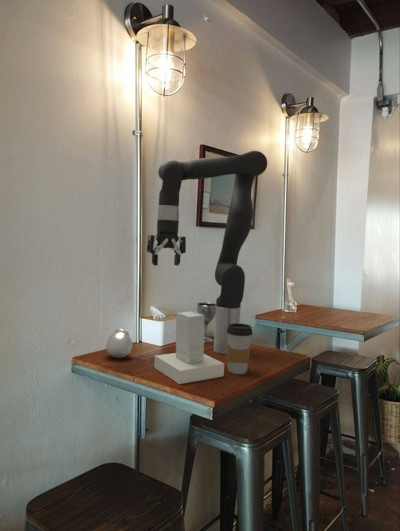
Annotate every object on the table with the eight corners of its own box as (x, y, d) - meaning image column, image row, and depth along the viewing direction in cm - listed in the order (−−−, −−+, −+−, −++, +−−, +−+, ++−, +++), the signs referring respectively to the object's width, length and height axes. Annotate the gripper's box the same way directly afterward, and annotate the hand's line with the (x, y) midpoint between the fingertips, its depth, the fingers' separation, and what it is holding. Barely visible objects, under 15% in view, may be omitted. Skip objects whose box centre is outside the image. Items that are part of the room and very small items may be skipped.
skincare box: (203, 362, 132) (206, 315, 131) (187, 364, 129) (189, 316, 128) (189, 354, 139) (191, 310, 138) (173, 357, 136) (175, 311, 134)
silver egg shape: (138, 356, 148) (139, 328, 147) (120, 363, 139) (121, 333, 139) (117, 351, 152) (119, 324, 151) (99, 357, 144) (100, 328, 143)
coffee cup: (224, 366, 142) (226, 322, 140) (249, 367, 141) (251, 323, 140) (224, 374, 133) (227, 328, 132) (251, 376, 133) (254, 329, 132)
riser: (196, 361, 145) (196, 350, 145) (223, 376, 132) (224, 363, 131) (154, 367, 136) (154, 355, 136) (179, 384, 123) (179, 370, 123)
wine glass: (191, 339, 174) (193, 303, 173) (203, 336, 180) (205, 301, 179) (206, 343, 169) (208, 306, 168) (218, 340, 175) (220, 304, 174)
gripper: (180, 220, 154) (178, 264, 156) (144, 217, 146) (142, 264, 148) (191, 220, 148) (188, 266, 149) (154, 217, 140) (152, 266, 142)
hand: (165, 265), depth 149 cm, fingers open, 8 cm apart
